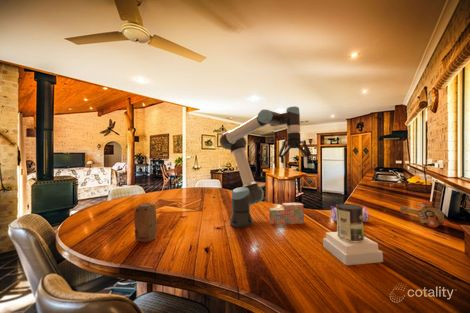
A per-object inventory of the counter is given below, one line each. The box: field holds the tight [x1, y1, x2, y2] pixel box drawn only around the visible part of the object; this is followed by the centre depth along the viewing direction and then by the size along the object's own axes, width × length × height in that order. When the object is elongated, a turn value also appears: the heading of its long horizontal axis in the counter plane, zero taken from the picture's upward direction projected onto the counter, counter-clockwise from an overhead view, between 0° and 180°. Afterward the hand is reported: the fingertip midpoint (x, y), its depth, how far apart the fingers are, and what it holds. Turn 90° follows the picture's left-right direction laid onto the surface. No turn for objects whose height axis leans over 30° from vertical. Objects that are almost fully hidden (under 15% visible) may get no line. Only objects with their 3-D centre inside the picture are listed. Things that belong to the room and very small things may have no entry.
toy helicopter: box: [399, 201, 445, 228], centre depth 116 cm, size 8×21×14 cm, turn 22°
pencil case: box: [330, 206, 370, 223], centre depth 123 cm, size 22×9×10 cm, turn 85°
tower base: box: [322, 231, 384, 266], centre depth 83 cm, size 16×16×7 cm
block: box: [133, 202, 158, 243], centre depth 105 cm, size 11×8×20 cm
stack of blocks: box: [268, 202, 305, 225], centre depth 125 cm, size 21×6×12 cm, turn 90°
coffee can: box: [335, 202, 365, 243], centre depth 83 cm, size 10×10×14 cm
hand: (294, 168), depth 113 cm, fingers open, 13 cm apart
